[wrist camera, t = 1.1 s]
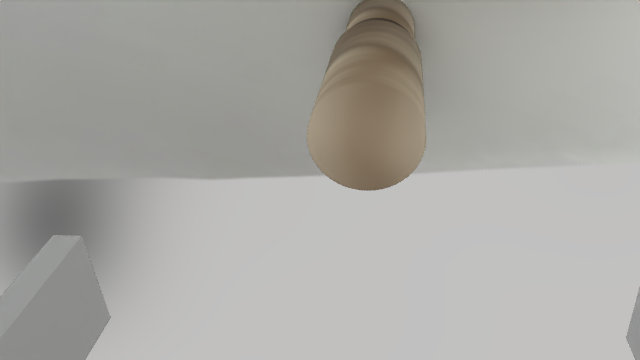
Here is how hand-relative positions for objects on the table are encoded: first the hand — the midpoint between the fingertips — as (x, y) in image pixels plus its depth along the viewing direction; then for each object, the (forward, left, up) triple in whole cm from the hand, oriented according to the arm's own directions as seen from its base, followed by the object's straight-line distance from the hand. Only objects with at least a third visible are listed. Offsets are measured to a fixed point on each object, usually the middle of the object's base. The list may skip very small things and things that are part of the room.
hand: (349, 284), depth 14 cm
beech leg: (0, -1, -23) cm, 23 cm away
